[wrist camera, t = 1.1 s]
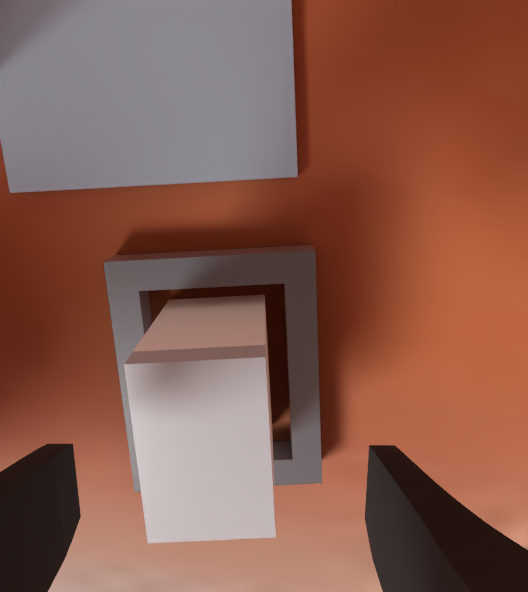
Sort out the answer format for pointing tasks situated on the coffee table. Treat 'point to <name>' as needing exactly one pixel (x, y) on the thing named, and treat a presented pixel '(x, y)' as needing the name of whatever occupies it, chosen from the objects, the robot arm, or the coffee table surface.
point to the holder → (222, 273)
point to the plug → (204, 421)
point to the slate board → (145, 92)
